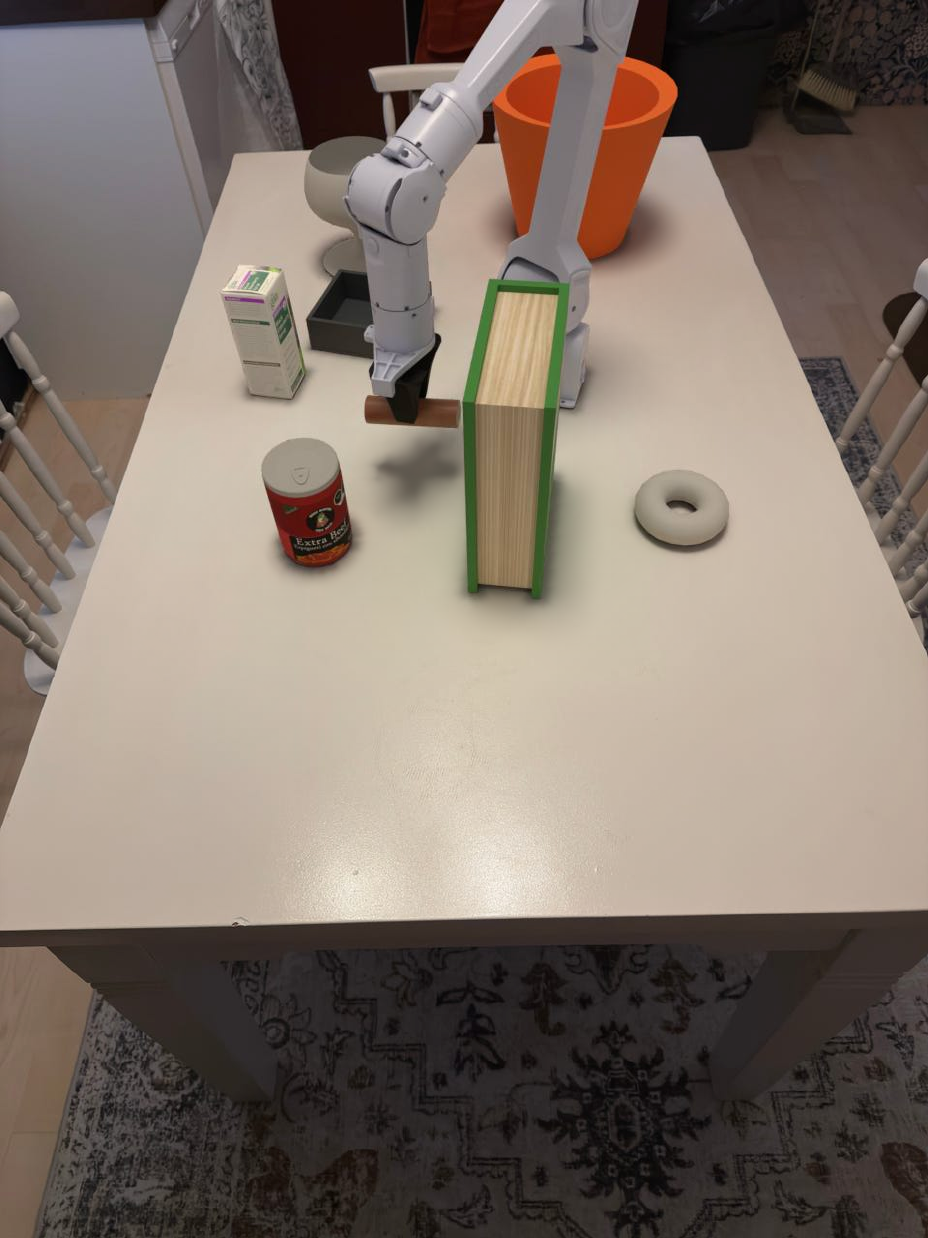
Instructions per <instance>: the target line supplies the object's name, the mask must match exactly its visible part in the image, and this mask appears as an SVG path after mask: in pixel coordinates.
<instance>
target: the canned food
mask: <svg viewBox="0 0 928 1238" xmlns="http://www.w3.org/2000/svg"><path fill="white" fill-rule="evenodd" d="M260 469H261V470H260V471H261V477H262V478H261V479H262V482H263V485H264V489H265V492H266V495H267V499H268V502H269V507H270V510H271V513H272V516H273V519H274V522H275V526H276V529H277V533H278V536H279V540H280V544H281V546H282V548H283V550H284V551H285V553H286V554H287V555H288V556H289V558H290V559H292V561H295V563H297V564H301V565H303V566H308V567H318V566H319V567H321V566H325V565H329V564H331V563H333V562H335V561H337V560H338V559H340V558H342V556H343V555H345V553H346V552H347V551H348V549H349V547H350V545H351V541H352V537H353V528H352V522H351V516H350V511H349V505H348V501H347V500H348V499H347V495H346V489H345V483H344V478H343V474H342V473H343V472H342V468H341V462H340V459H339V457H338V454H337V452H336V450H335V449H334V448H333V447H332V446H331V445H330V444H329V443H327V442H326V441H324V440H320V439H317V438H312V437H296V438H291V439H288V440H285V441H283V442H281V443H279V444H277V445H275V446H273V448H271V449H270V450H269V451H268V452H267V453H266V454H265V456H264V457H263V460H262V462H261V465H260Z"/></svg>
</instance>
